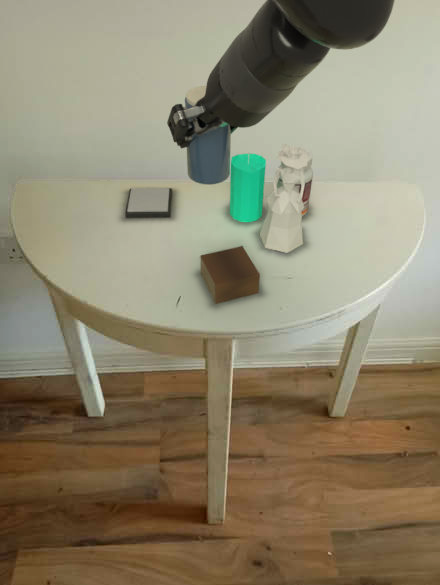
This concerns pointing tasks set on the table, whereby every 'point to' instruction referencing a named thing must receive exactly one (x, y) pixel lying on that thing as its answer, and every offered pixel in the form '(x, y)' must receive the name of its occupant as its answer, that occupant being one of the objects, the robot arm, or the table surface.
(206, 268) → the block
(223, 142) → the canister
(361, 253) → the table surface
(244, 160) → the candle
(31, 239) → the table surface
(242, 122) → the robot arm
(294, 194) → the figurine
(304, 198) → the pill bottle
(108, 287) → the table surface
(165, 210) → the scale
